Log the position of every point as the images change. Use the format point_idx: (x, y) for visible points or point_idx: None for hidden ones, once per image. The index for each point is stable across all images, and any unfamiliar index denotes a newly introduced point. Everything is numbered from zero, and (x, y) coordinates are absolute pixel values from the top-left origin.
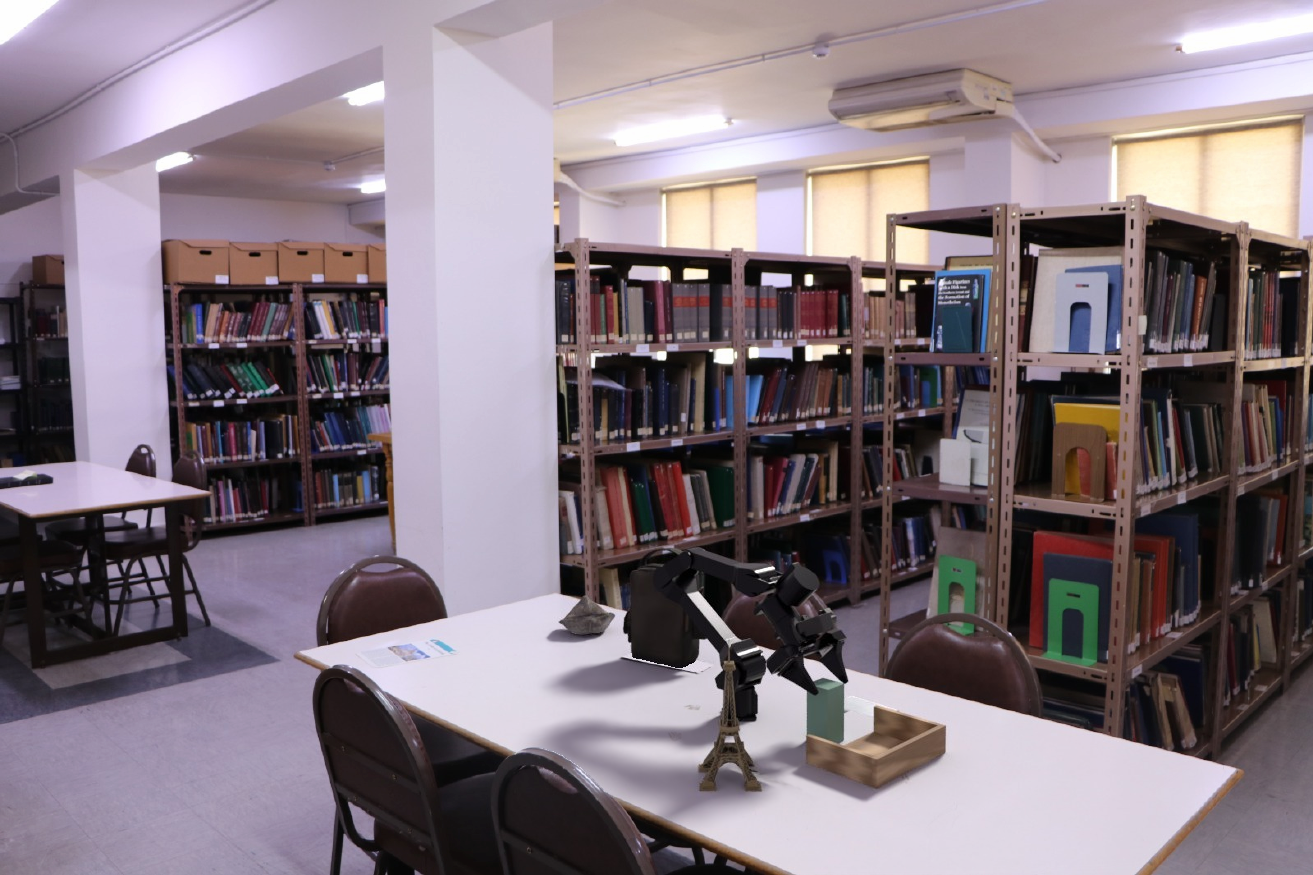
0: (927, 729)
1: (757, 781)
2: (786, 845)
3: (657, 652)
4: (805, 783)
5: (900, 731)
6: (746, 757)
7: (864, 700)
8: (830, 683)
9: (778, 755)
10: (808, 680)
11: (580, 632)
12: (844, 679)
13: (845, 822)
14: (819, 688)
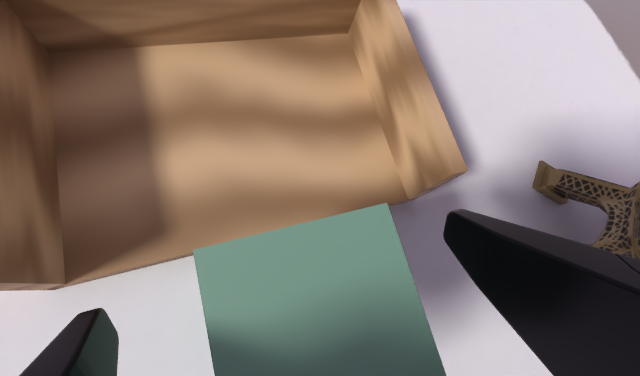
0: (5, 36)
1: (544, 187)
2: (557, 15)
3: None
4: None
5: (38, 160)
6: None
7: None
8: (287, 313)
9: (437, 305)
10: (577, 242)
11: None
12: (99, 343)
13: (457, 6)
14: (409, 275)
